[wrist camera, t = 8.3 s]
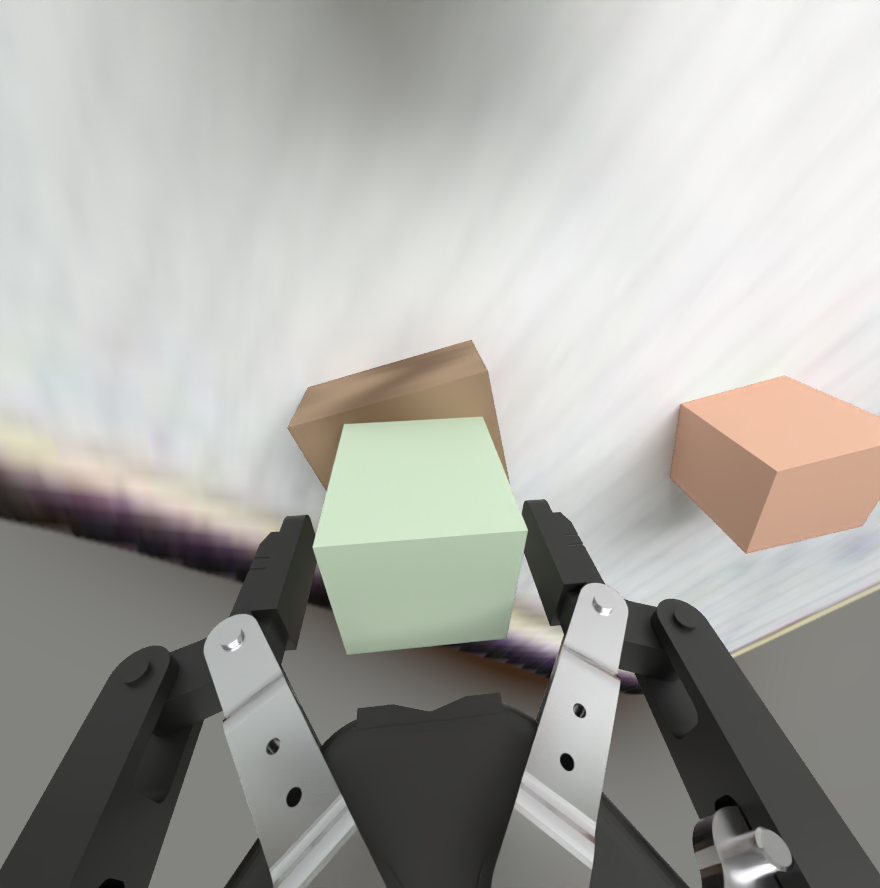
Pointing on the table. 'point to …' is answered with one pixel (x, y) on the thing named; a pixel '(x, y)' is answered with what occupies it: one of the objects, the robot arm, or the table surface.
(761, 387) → the terracotta block
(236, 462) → the table surface
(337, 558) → the sage block
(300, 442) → the walnut base
